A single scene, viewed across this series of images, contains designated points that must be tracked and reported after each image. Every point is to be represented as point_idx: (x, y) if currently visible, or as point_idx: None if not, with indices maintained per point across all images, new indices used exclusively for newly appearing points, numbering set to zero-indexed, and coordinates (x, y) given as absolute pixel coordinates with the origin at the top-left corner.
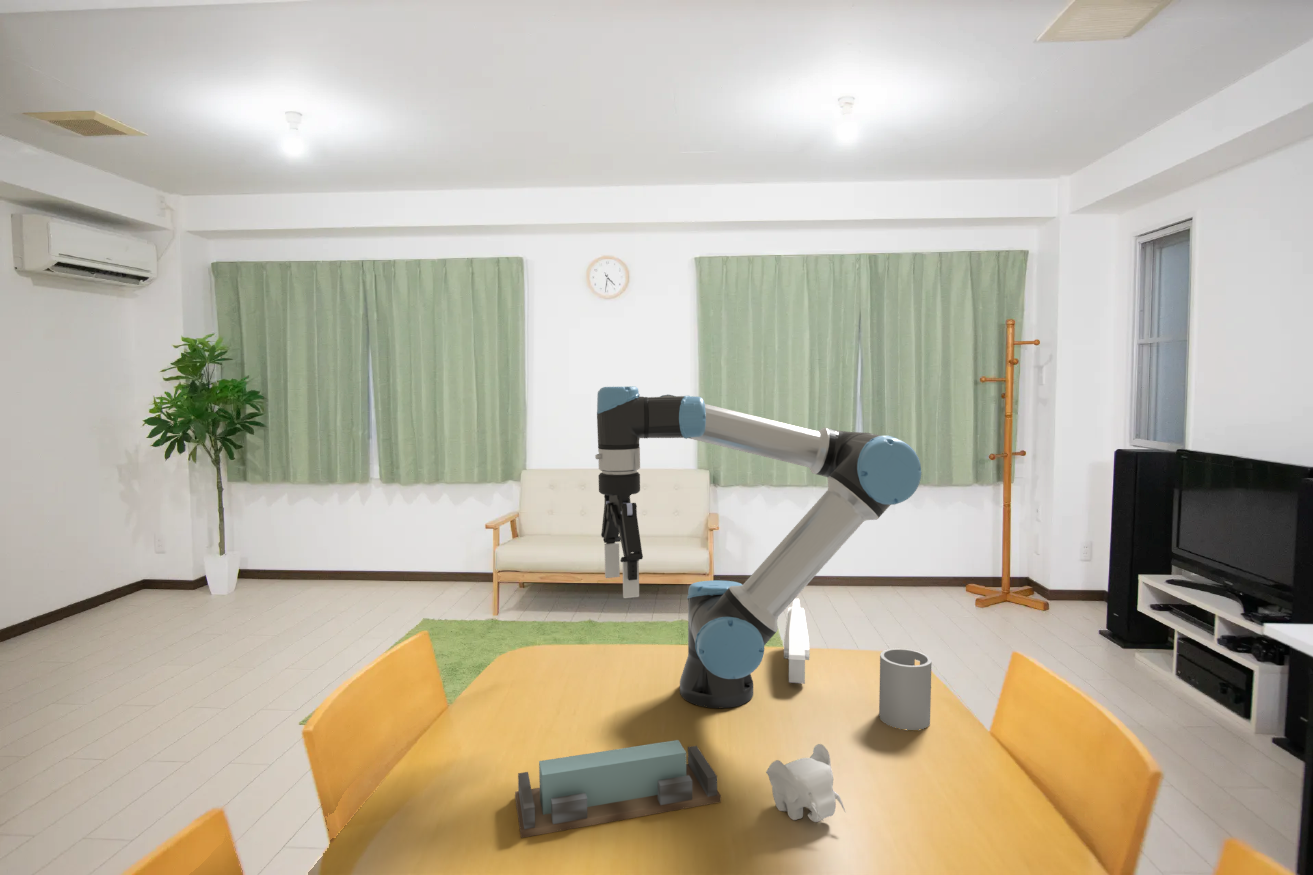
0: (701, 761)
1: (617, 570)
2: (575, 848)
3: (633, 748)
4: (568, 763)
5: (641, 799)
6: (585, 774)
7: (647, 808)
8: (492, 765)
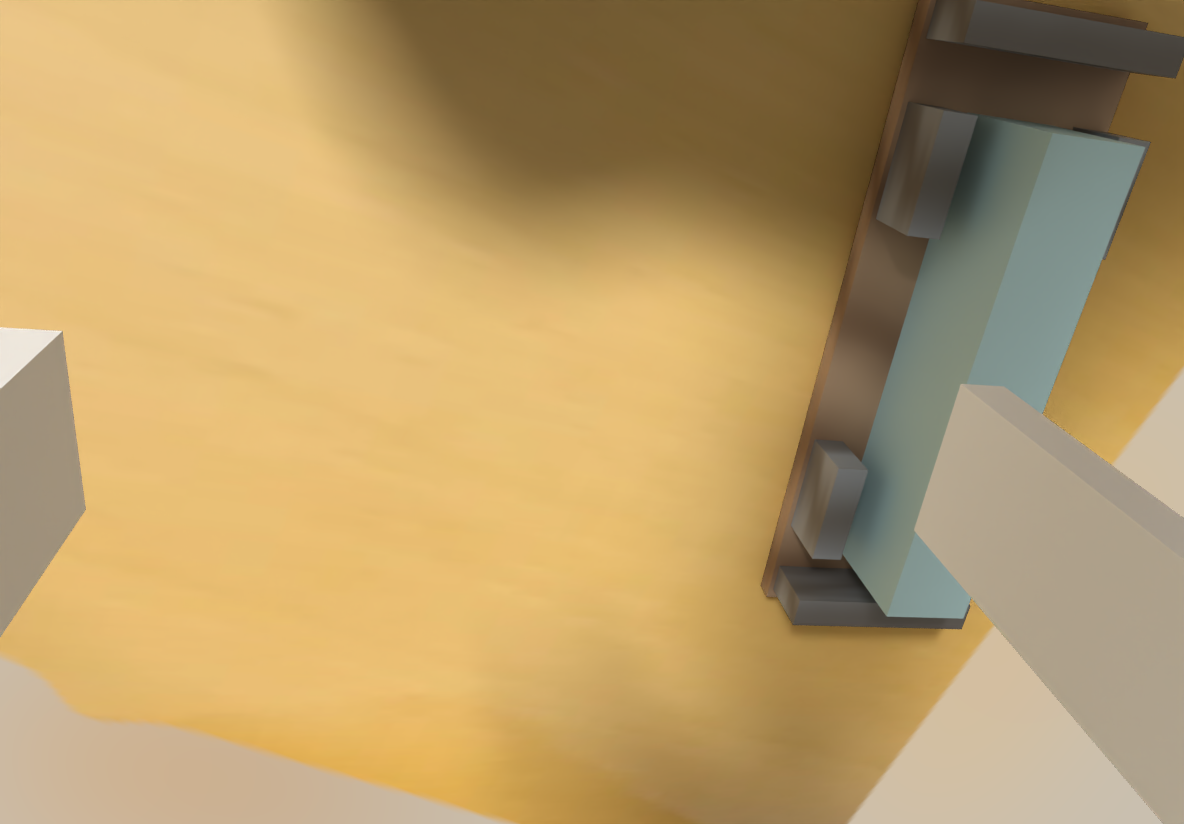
0: (1081, 44)
1: (26, 401)
2: None
3: (999, 325)
4: None
5: None
6: None
7: None
8: (563, 623)
